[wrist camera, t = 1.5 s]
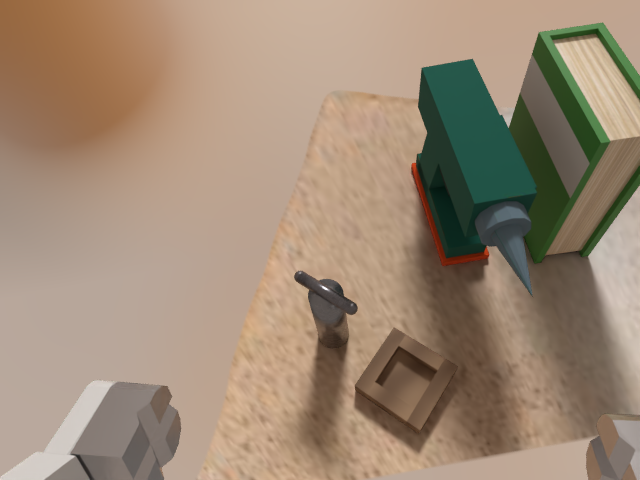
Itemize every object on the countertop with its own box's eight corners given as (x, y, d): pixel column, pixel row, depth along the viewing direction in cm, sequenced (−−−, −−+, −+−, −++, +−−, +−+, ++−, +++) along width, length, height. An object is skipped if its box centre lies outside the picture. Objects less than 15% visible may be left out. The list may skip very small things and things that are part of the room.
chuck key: (368, 338, 64) (366, 294, 53) (351, 363, 63) (345, 323, 52) (317, 306, 68) (305, 258, 56) (299, 329, 66) (283, 284, 55)
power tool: (526, 348, 62) (583, 274, 45) (471, 358, 62) (507, 287, 45) (454, 160, 79) (475, 55, 62) (411, 167, 79) (420, 65, 62)
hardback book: (588, 256, 68) (678, 131, 47) (534, 263, 68) (601, 143, 47) (543, 160, 77) (602, 22, 57) (496, 166, 77) (538, 32, 57)
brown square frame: (455, 371, 61) (457, 366, 59) (418, 433, 58) (420, 430, 56) (393, 333, 64) (394, 327, 63) (355, 389, 61) (354, 385, 59)
